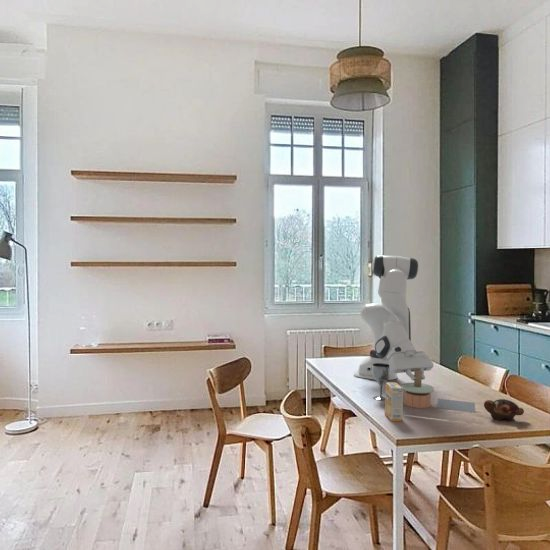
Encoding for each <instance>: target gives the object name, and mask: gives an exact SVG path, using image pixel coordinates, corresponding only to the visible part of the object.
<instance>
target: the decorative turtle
mask: <svg viewBox="0 0 550 550" xmlns="http://www.w3.org/2000/svg"><path fill="white" fill-rule="evenodd" d="M483 408H484V409H485V410H486V412H488V413H489V414H490V416H491V417H493V418H494V419H495V420H496V421H498V422H500V421H503V420H504V419H505V420H506V421H508V422H513V420H514V419H515V417H516V416H522V415H524V412H525V410H524V408H522V407H519V405H518V404H517V403H515V402H513V401H512V400H510V399H504V398H500V399H499V398H498V399H496V400H492V399H487V400H485V401H484V403H483Z"/></svg>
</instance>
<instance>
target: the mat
mask: <svg viewBox="0 0 550 550" xmlns="http://www.w3.org/2000/svg"><path fill="white" fill-rule="evenodd" d="M475 404H476V403H475V402H471V401H462V400H461V401H460V400H454V399H446V398H445V399H443V398H438V399H437V402H436V409H443V410H451V411H457V412H466V413H467V412H468V413H476V405H475Z"/></svg>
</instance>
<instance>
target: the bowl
mask: <svg viewBox="0 0 550 550" xmlns="http://www.w3.org/2000/svg"><path fill="white" fill-rule="evenodd" d="M403 405H405V406H407V407H410V408H411V407H412V408H418V409H426V408H430V407H431V405H432V392H431V393H413V392H408V391H405V390H403Z"/></svg>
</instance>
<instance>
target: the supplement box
mask: <svg viewBox="0 0 550 550" xmlns="http://www.w3.org/2000/svg"><path fill="white" fill-rule="evenodd" d="M384 393H385V395H384V397H385V401H384V415H385V416H386V417H387V418H388V419H389V420H390V421H391V422H403V416H404V414H403V412H404V390H403V387H402V385H401V384H399V383H397V382H385V392H384Z"/></svg>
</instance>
